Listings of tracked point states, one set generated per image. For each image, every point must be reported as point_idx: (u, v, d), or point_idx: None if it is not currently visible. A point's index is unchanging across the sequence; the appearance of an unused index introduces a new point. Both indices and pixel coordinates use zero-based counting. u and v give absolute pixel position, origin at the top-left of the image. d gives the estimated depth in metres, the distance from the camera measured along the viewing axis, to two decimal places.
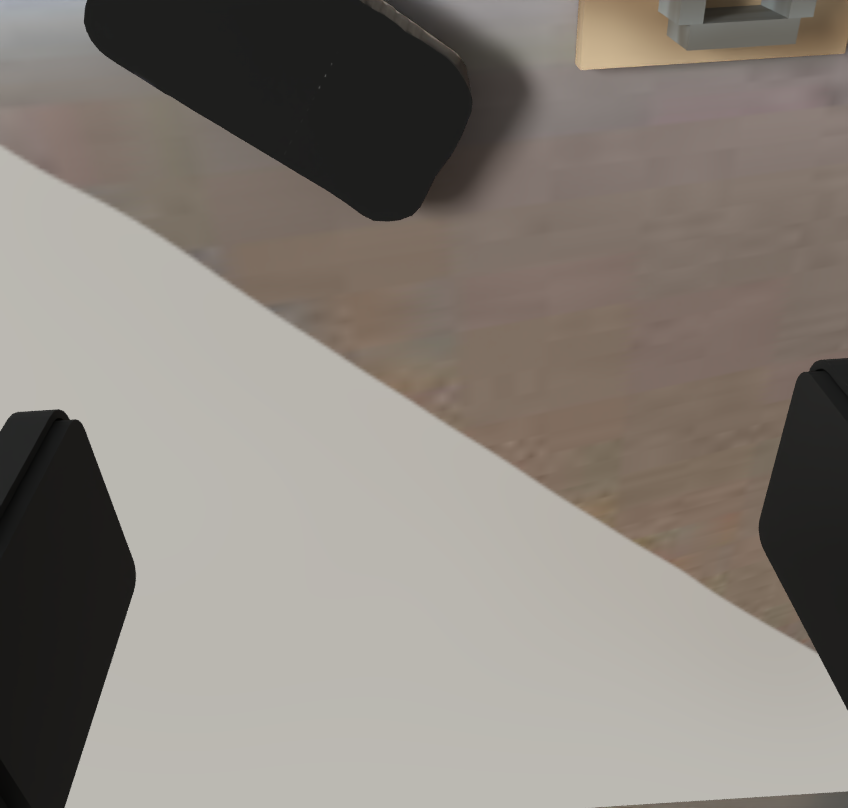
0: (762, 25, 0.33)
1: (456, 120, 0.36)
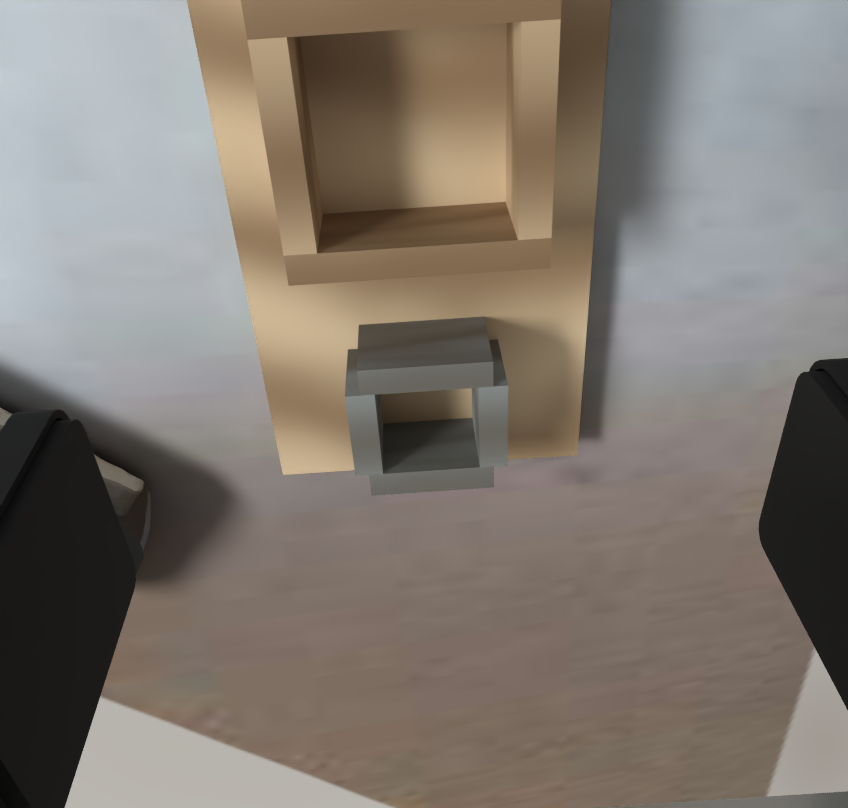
0: (451, 473, 0.29)
1: None
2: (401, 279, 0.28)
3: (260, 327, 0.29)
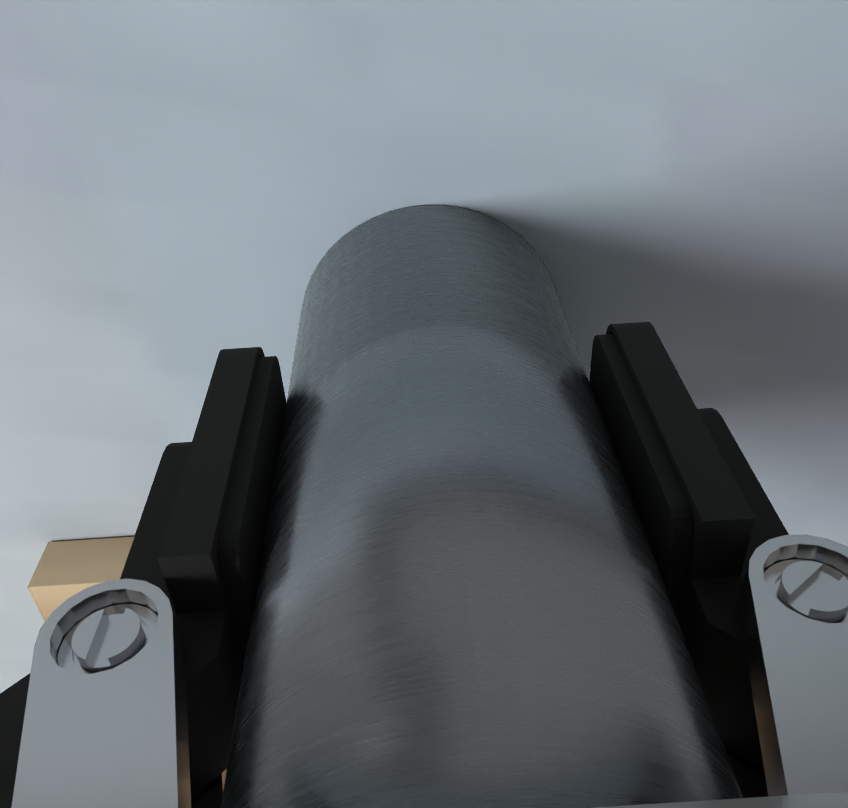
0: None
1: None
2: None
3: None
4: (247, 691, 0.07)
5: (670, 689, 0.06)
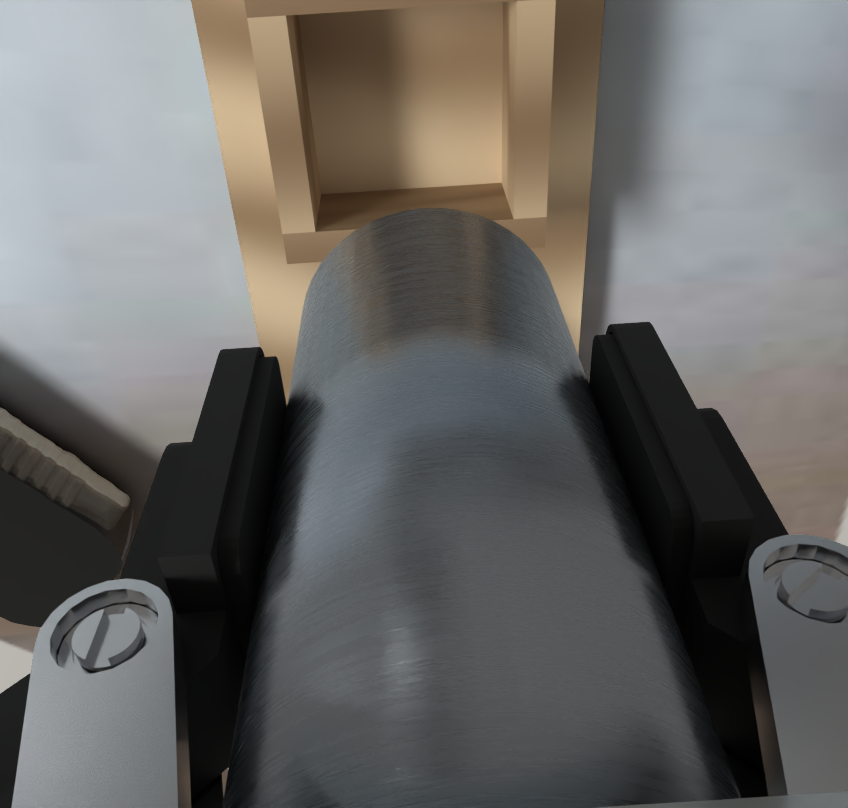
0: None
1: (105, 572, 0.34)
2: None
3: (259, 307, 0.29)
4: (248, 695, 0.07)
5: (670, 694, 0.06)
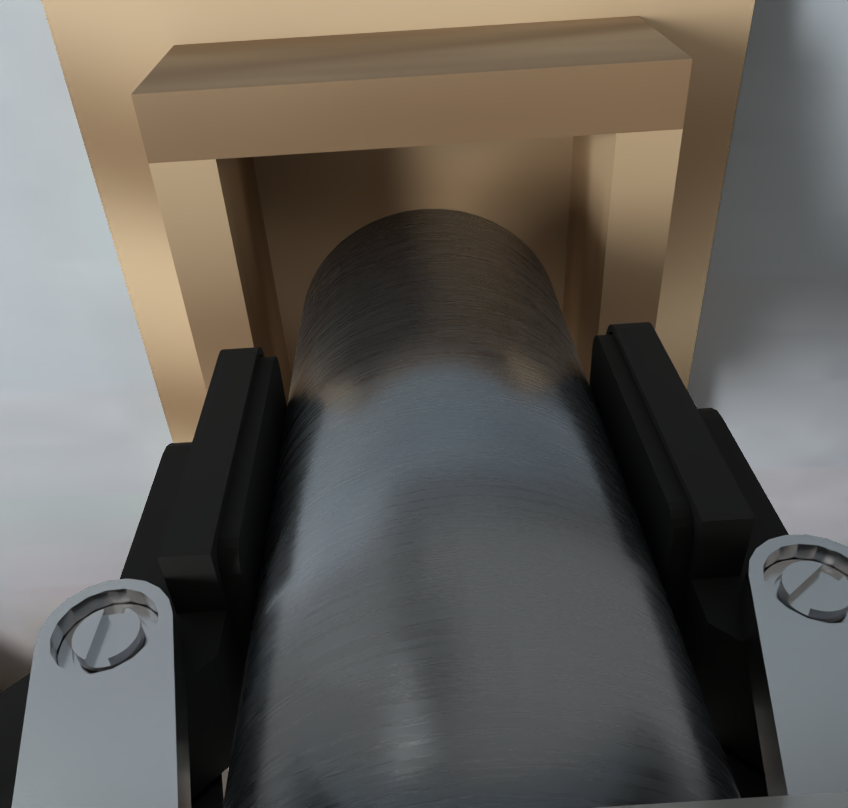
0: None
1: None
2: None
3: None
4: (248, 695, 0.07)
5: (670, 694, 0.06)
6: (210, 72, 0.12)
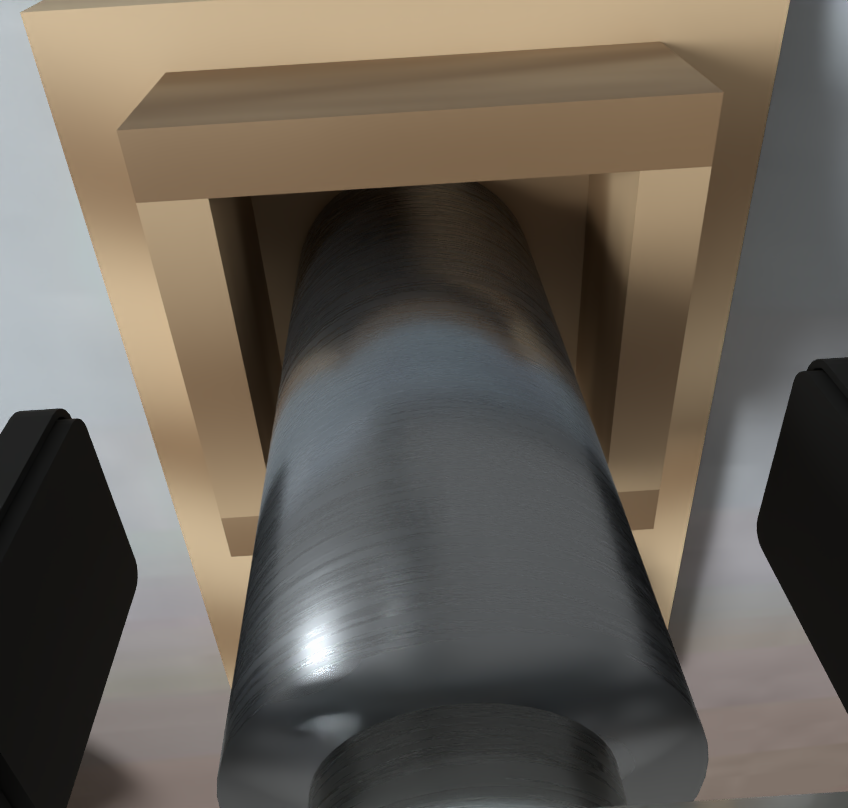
0: None
1: None
2: None
3: (201, 559, 0.20)
4: (260, 550, 0.08)
5: (605, 534, 0.08)
6: (203, 104, 0.11)
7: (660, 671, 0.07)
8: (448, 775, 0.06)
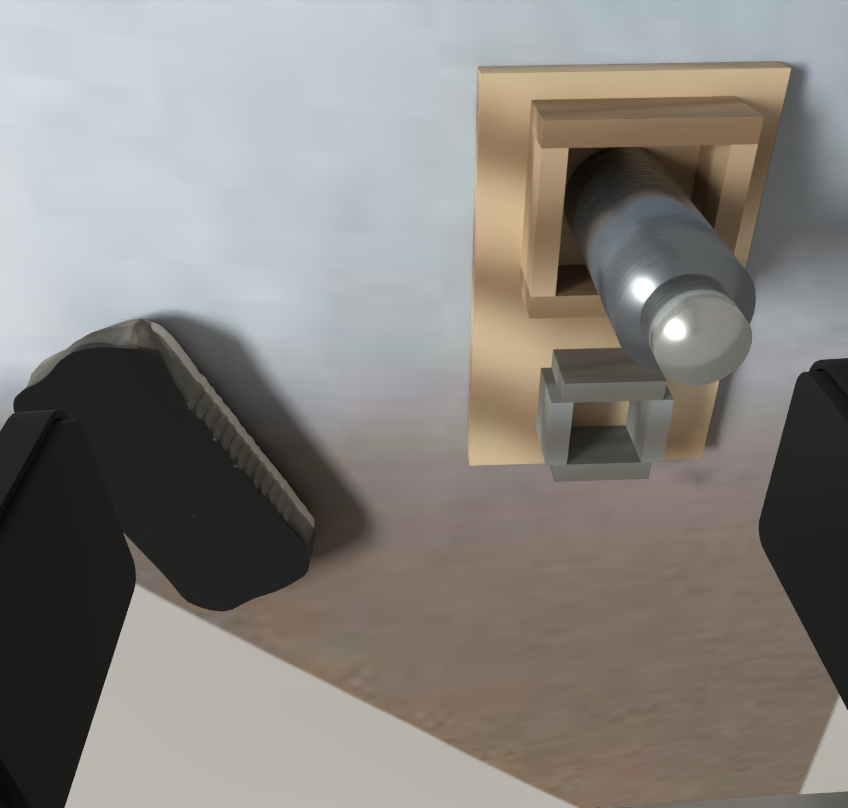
0: (618, 466, 0.38)
1: (289, 576, 0.43)
2: None
3: (478, 348, 0.38)
4: (615, 253, 0.27)
5: None
6: (565, 113, 0.30)
7: (745, 270, 0.25)
8: (694, 282, 0.24)
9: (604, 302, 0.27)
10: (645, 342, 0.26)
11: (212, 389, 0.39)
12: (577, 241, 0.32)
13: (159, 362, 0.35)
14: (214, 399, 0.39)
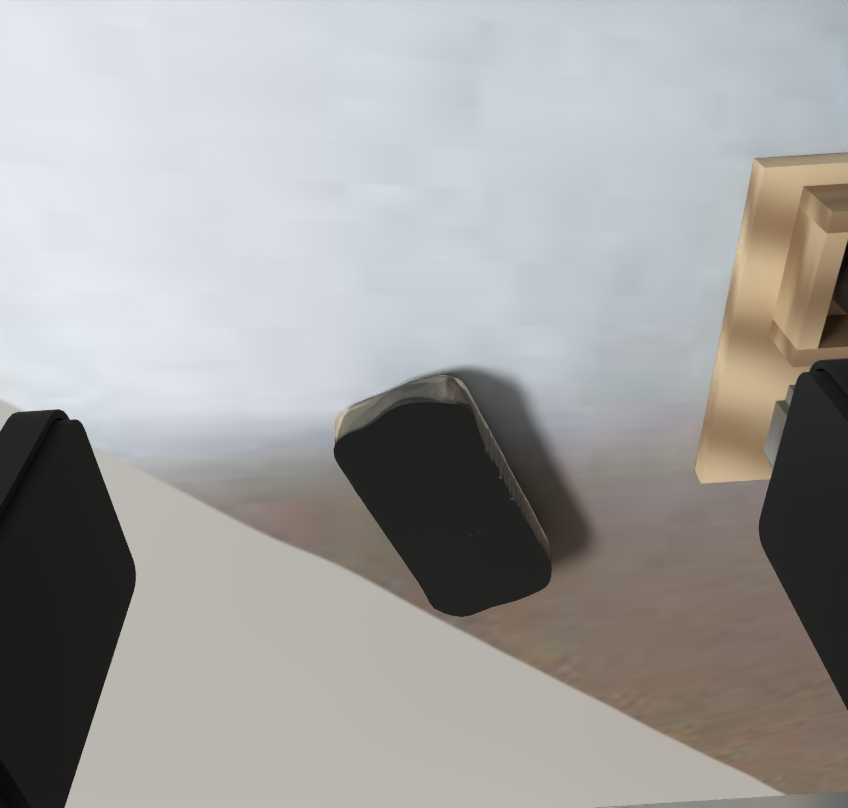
0: None
1: (530, 589, 0.50)
2: None
3: (725, 386, 0.44)
4: None
5: None
6: (844, 201, 0.36)
7: None
8: None
9: None
10: None
11: (491, 432, 0.45)
12: None
13: (472, 415, 0.42)
14: (494, 442, 0.45)
